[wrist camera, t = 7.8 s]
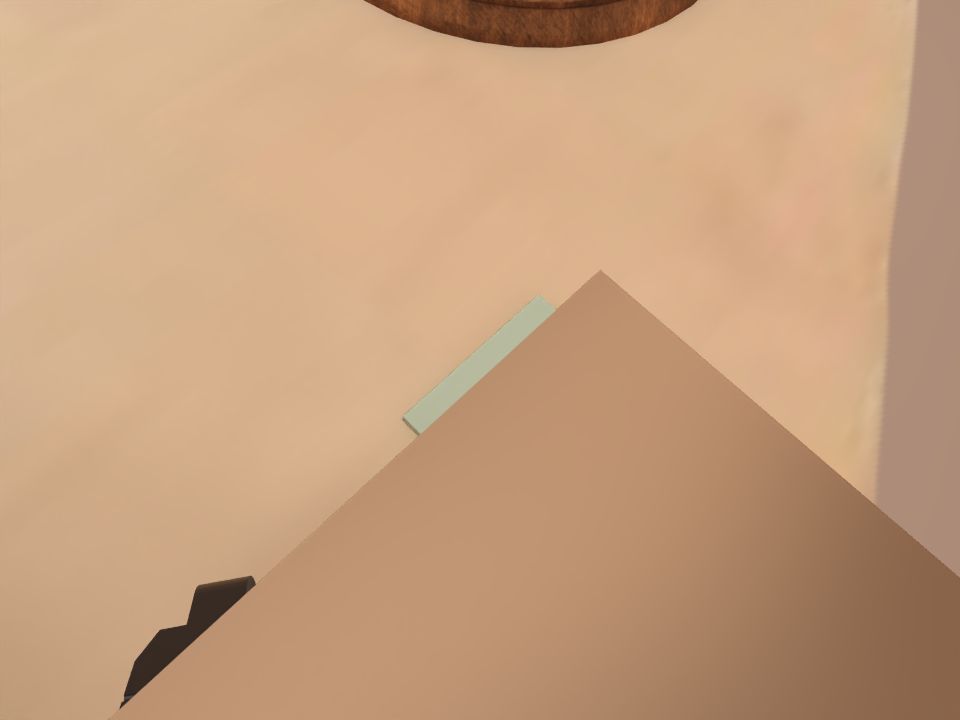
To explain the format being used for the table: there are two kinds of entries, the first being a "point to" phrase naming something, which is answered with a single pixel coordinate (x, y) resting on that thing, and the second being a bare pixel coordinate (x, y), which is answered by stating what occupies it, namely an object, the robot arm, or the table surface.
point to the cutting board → (536, 19)
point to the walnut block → (589, 564)
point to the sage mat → (477, 365)
